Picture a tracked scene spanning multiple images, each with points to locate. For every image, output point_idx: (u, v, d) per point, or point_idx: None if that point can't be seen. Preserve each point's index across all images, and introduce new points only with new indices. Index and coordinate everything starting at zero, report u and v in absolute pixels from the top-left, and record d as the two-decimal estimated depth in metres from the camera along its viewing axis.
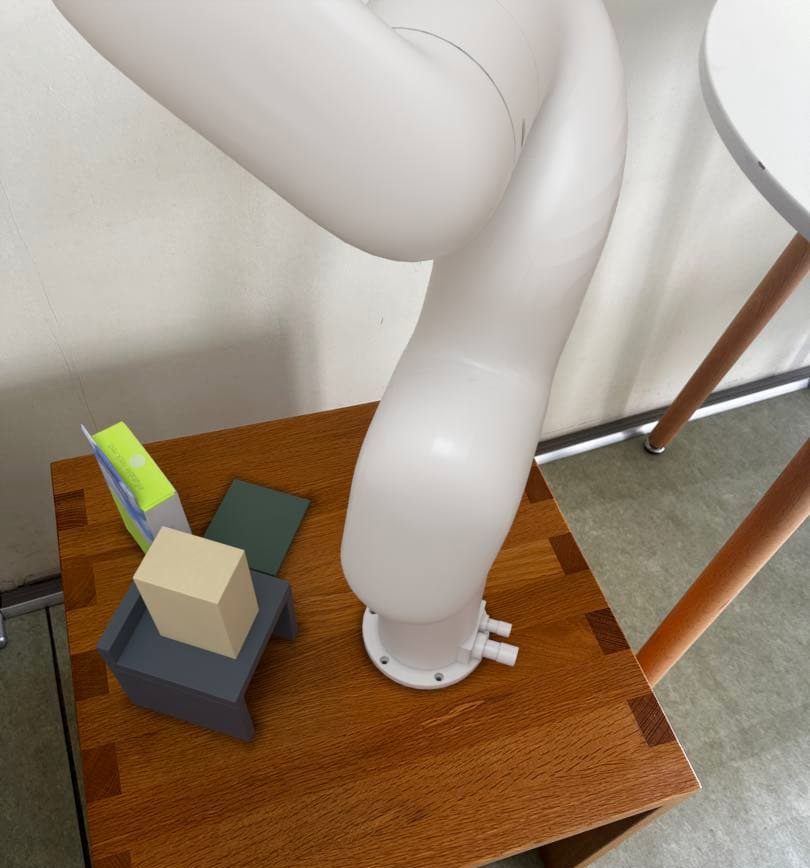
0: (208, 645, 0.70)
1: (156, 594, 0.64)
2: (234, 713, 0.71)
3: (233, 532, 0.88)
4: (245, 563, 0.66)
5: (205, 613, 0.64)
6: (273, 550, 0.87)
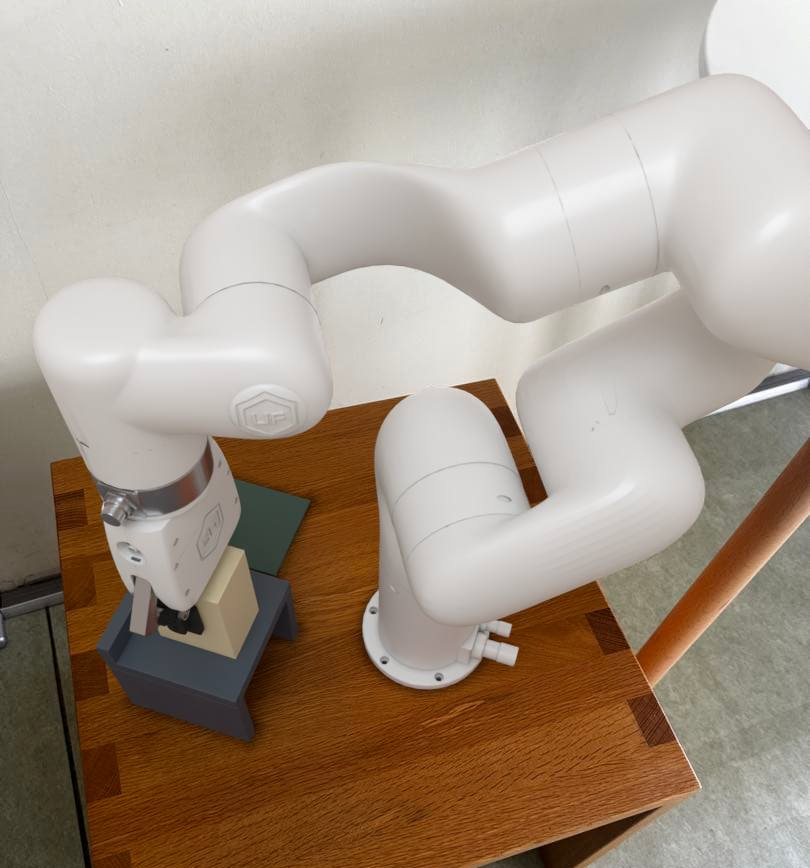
0: (208, 645, 0.70)
1: None
2: (234, 713, 0.71)
3: (233, 532, 0.88)
4: (245, 563, 0.66)
5: (205, 613, 0.64)
6: (273, 550, 0.87)
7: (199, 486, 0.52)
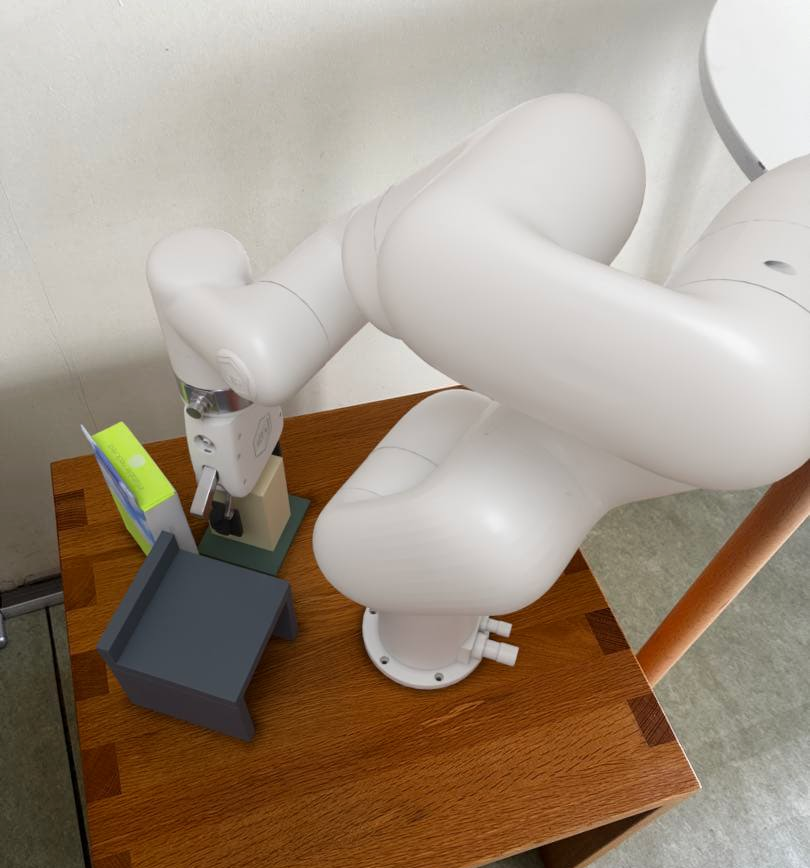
0: (251, 540, 0.87)
1: None
2: (234, 713, 0.71)
3: None
4: (282, 469, 0.83)
5: (251, 507, 0.81)
6: None
7: None
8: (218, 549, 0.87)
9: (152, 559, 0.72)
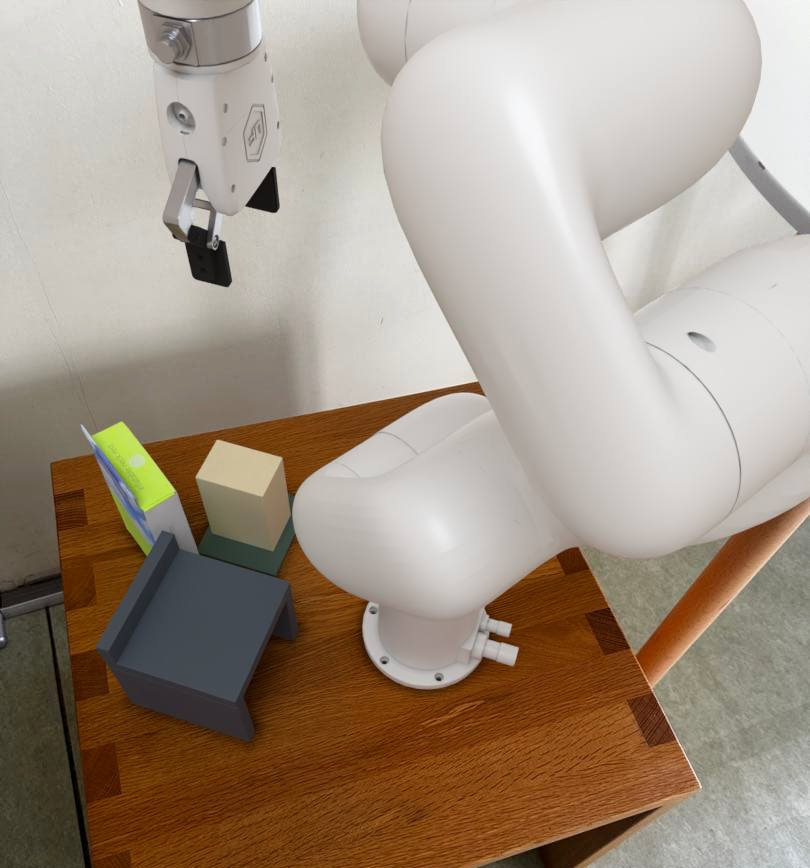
0: (251, 540, 0.87)
1: (213, 492, 0.81)
2: (234, 713, 0.71)
3: None
4: (282, 469, 0.83)
5: (251, 507, 0.81)
6: None
7: (249, 40, 0.53)
8: (218, 549, 0.87)
9: (152, 559, 0.72)
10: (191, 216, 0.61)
